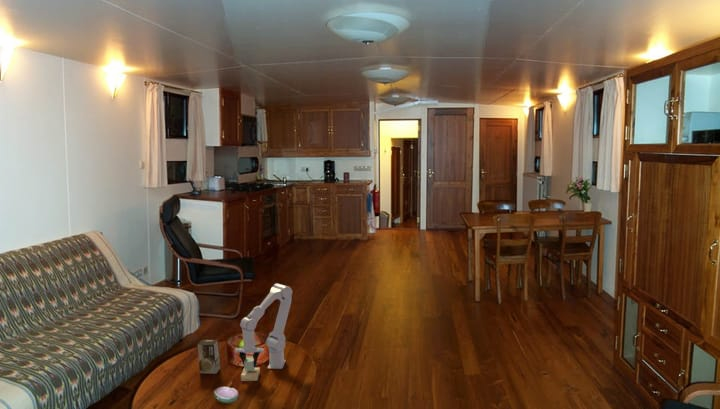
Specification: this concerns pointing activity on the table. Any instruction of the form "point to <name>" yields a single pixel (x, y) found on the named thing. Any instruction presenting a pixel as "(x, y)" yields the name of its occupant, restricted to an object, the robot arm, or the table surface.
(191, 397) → the table surface
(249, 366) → the pale grey cube
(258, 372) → the birch block
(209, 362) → the coffee box
